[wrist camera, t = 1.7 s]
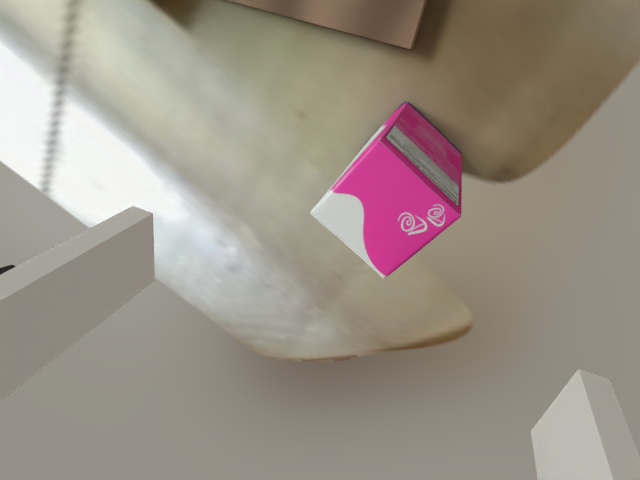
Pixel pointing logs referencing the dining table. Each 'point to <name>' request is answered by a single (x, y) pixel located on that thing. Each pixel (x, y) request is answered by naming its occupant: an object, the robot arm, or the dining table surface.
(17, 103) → the dining table surface
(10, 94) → the dining table surface
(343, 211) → the supplement box
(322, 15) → the walnut board
